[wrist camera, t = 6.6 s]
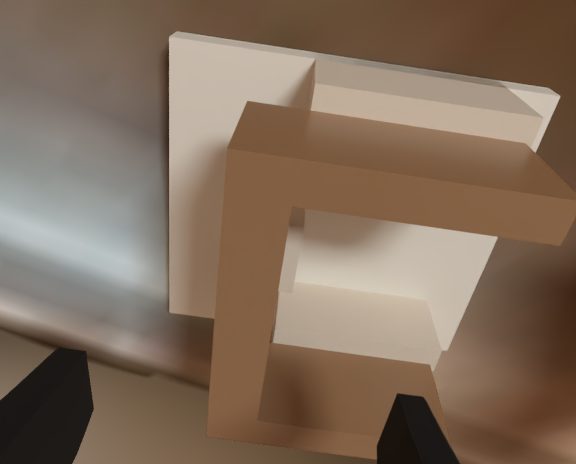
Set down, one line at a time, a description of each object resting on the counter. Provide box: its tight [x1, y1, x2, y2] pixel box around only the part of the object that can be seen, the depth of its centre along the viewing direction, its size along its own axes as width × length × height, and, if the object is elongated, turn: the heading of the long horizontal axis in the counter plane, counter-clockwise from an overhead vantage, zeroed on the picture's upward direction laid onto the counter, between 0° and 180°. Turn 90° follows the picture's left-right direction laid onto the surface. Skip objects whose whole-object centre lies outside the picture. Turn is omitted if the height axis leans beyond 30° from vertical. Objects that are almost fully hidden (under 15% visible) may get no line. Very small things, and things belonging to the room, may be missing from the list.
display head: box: [169, 31, 560, 373], centre depth 18 cm, size 13×12×4 cm
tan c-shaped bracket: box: [206, 101, 576, 460], centre depth 15 cm, size 8×10×4 cm
